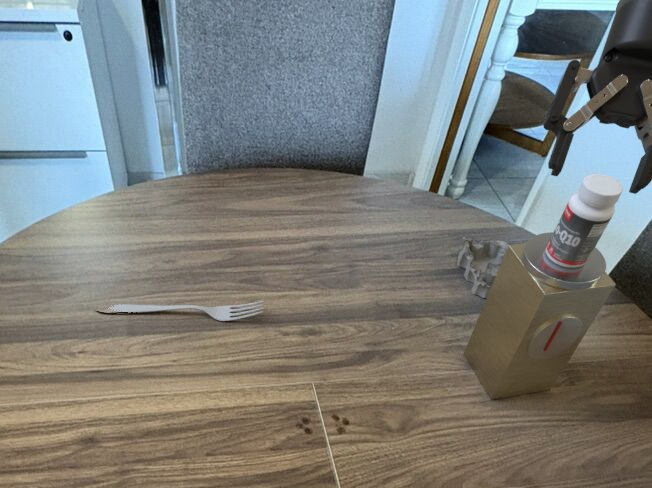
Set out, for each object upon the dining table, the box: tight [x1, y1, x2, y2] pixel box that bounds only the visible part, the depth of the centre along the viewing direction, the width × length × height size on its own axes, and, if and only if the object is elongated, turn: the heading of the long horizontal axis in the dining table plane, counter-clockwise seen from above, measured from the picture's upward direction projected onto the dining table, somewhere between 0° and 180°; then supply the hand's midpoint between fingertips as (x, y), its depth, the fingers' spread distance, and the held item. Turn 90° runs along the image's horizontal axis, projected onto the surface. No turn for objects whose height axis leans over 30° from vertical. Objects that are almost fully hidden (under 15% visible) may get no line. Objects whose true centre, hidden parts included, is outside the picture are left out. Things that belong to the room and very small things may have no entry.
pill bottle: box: [546, 173, 624, 268], centre depth 66 cm, size 5×5×8 cm
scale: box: [463, 231, 617, 401], centre depth 77 cm, size 9×10×18 cm
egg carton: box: [456, 235, 510, 299], centre depth 94 cm, size 11×8×4 cm
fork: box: [108, 300, 265, 322], centre depth 87 cm, size 3×24×2 cm, turn 90°
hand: (595, 182), depth 67 cm, fingers open, 8 cm apart
